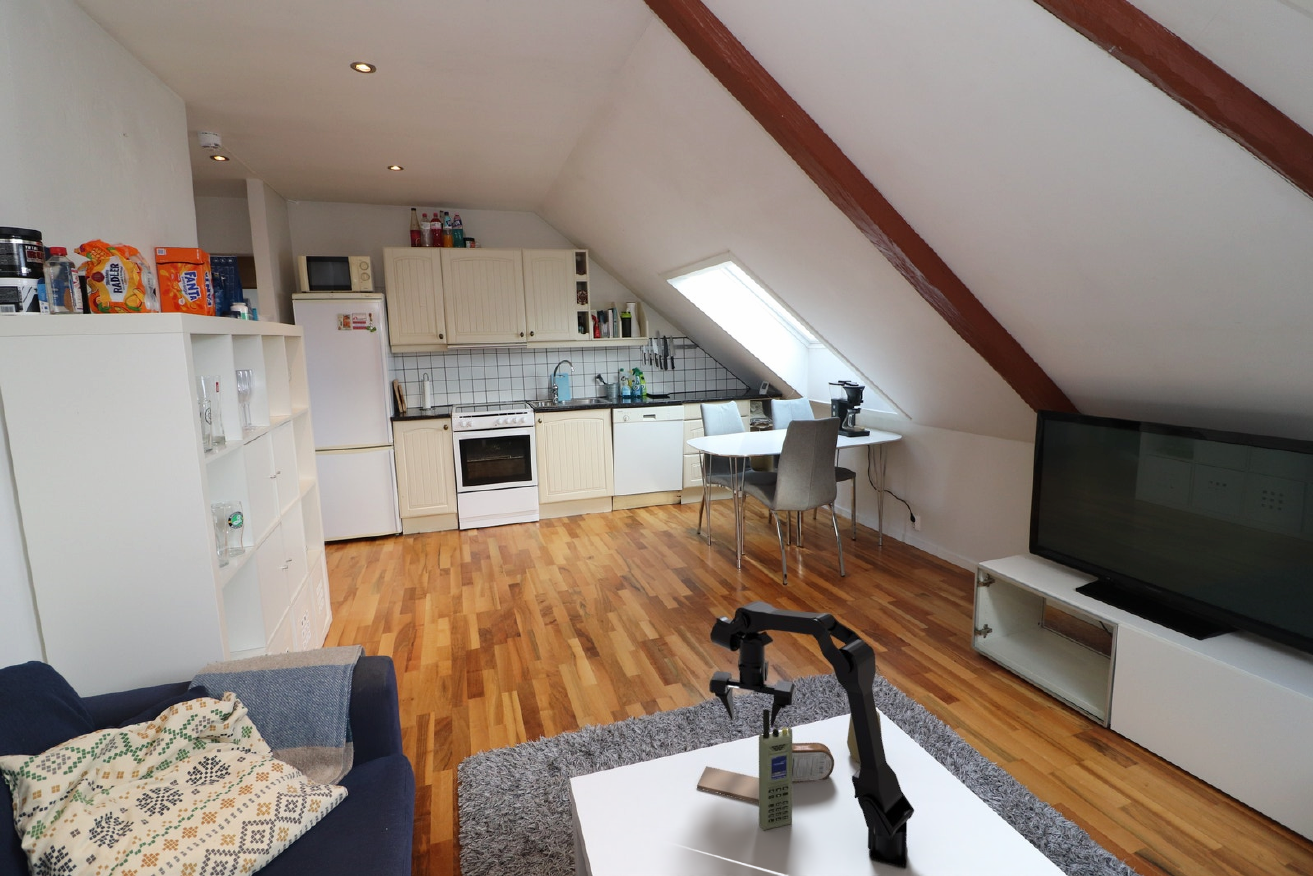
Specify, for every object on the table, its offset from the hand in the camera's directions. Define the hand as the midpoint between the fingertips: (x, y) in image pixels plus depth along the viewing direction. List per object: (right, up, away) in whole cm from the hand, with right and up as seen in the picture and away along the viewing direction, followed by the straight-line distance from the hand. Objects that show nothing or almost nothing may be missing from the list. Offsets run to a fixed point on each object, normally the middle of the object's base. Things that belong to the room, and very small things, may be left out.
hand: (752, 722), depth 144 cm
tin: (+10, -12, -2) cm, 16 cm away
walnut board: (-4, -13, -4) cm, 14 cm away
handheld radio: (+2, -14, -15) cm, 21 cm away
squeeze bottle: (+27, -11, +5) cm, 30 cm away
